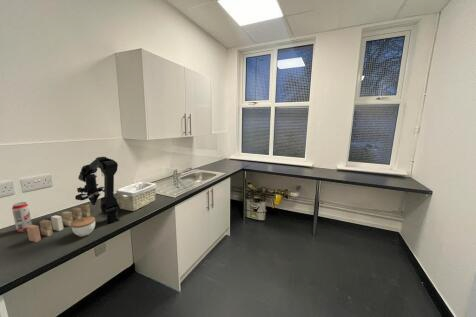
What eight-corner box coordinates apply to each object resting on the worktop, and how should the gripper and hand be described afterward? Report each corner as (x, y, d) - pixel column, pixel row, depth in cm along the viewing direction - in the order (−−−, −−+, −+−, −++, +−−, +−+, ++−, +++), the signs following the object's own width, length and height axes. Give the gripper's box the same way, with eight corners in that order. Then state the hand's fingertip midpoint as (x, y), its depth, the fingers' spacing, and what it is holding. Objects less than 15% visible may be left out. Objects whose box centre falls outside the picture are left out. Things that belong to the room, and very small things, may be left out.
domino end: (34, 238, 106) (31, 224, 104) (41, 239, 104) (38, 226, 103) (29, 240, 103) (26, 226, 102) (35, 242, 102) (33, 228, 101)
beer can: (14, 233, 109) (8, 207, 106) (20, 228, 115) (15, 202, 112) (29, 231, 111) (23, 205, 108) (34, 226, 117) (30, 201, 114)
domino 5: (84, 215, 132) (83, 204, 130) (90, 216, 130) (89, 204, 129) (81, 216, 130) (80, 205, 128) (87, 217, 128) (86, 206, 127)
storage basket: (142, 197, 164) (141, 180, 161) (158, 200, 159) (157, 183, 156) (116, 209, 141) (114, 190, 139) (133, 213, 136) (132, 193, 134)
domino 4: (76, 218, 126) (74, 207, 125) (82, 220, 125) (80, 208, 124) (72, 220, 124) (71, 208, 123) (78, 221, 123) (77, 209, 122)
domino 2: (57, 227, 116) (55, 215, 114) (63, 228, 115) (61, 216, 113) (52, 229, 114) (50, 216, 112) (59, 230, 113) (57, 218, 111)
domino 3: (67, 223, 121) (65, 211, 120) (73, 224, 120) (71, 212, 118) (63, 224, 119) (61, 212, 118) (69, 226, 118) (67, 213, 116)
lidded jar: (81, 228, 116) (79, 213, 114) (100, 228, 116) (98, 213, 115) (67, 239, 105) (65, 223, 103) (88, 238, 106) (86, 223, 104)
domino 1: (46, 232, 111) (44, 219, 109) (52, 234, 110) (50, 220, 108) (41, 234, 109) (39, 221, 107) (48, 236, 107) (45, 222, 106)
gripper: (94, 178, 143) (97, 198, 146) (67, 186, 125) (70, 209, 128) (107, 179, 140) (109, 200, 143) (80, 188, 122) (83, 211, 125)
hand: (93, 204), depth 135 cm, fingers closed
